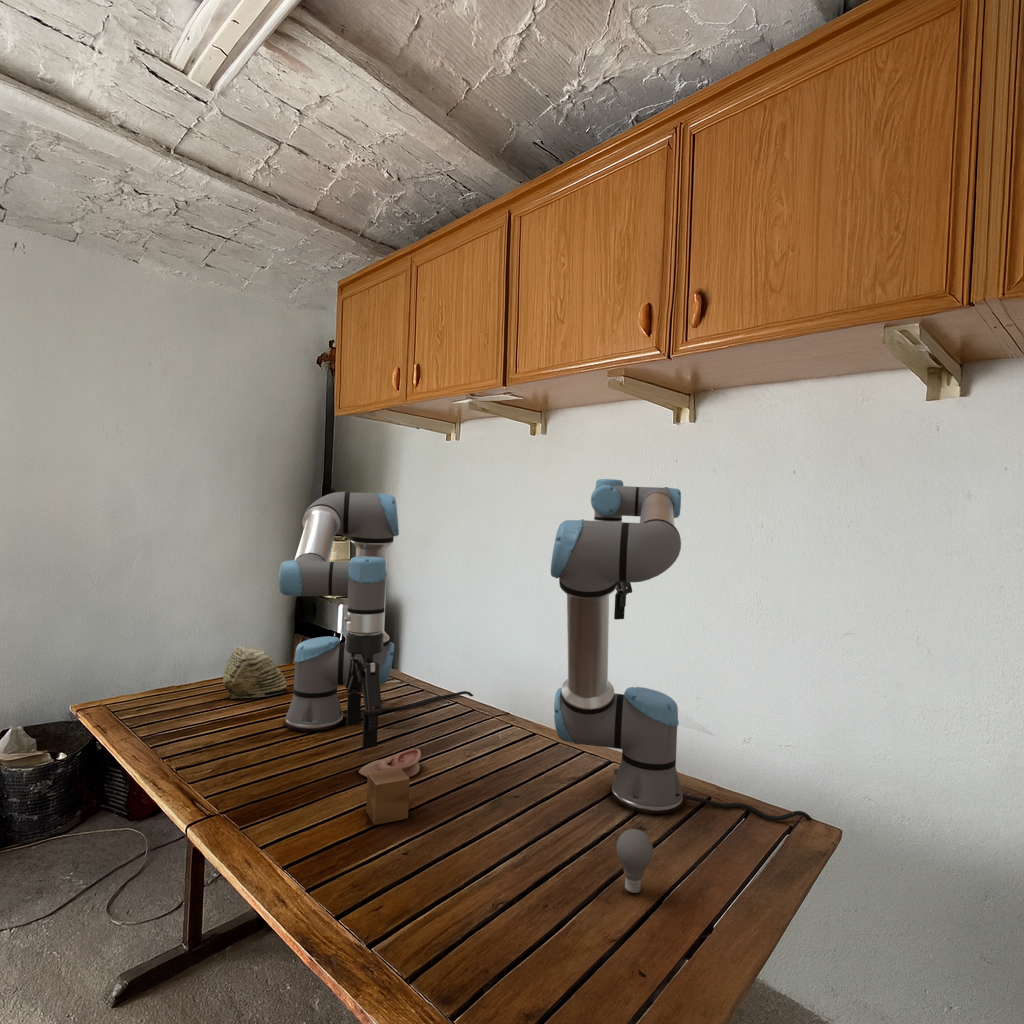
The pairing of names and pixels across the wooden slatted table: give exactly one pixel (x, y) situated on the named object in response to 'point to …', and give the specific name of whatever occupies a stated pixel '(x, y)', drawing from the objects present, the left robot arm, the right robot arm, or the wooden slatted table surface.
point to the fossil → (252, 674)
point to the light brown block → (387, 795)
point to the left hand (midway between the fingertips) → (361, 735)
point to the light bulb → (634, 857)
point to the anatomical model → (396, 763)
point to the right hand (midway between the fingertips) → (603, 614)
